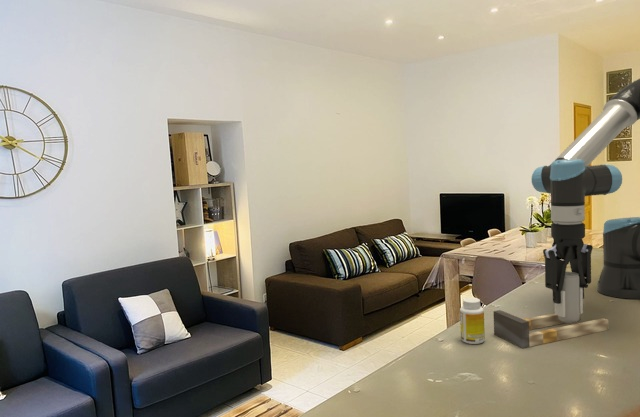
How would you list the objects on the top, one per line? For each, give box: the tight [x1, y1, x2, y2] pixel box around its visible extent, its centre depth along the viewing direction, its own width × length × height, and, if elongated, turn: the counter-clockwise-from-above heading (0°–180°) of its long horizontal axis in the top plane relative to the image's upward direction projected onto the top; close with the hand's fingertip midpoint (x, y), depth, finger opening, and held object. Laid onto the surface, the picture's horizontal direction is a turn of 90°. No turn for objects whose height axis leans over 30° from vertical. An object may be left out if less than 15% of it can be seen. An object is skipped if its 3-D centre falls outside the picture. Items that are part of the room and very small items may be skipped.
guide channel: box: [493, 309, 609, 349], centre depth 121 cm, size 26×10×6 cm, turn 108°
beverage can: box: [558, 271, 581, 324], centre depth 122 cm, size 5×5×12 cm
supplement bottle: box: [459, 297, 486, 345], centre depth 118 cm, size 6×6×10 cm
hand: (568, 313), depth 122 cm, fingers closed on beverage can, 5 cm apart
